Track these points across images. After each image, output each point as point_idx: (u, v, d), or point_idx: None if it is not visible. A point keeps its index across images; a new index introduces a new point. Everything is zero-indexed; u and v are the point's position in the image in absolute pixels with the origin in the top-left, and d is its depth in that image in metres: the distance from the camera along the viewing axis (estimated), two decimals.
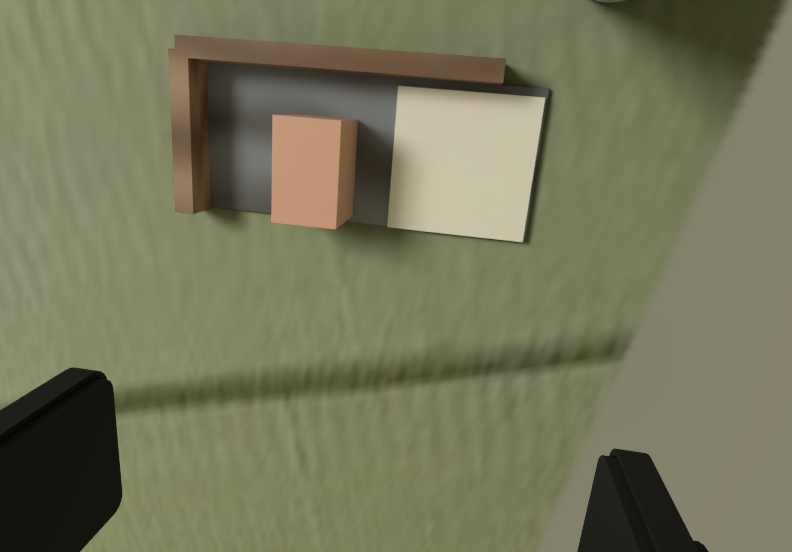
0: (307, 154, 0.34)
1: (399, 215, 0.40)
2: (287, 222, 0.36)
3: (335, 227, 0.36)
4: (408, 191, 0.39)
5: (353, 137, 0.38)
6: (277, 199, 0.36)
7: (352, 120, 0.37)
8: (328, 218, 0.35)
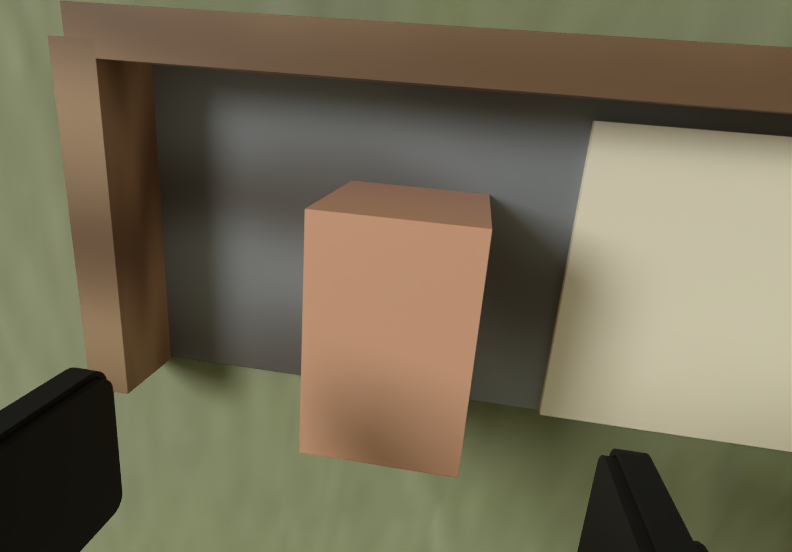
0: (393, 308, 0.13)
1: (569, 394, 0.18)
2: (338, 455, 0.15)
3: (456, 473, 0.15)
4: (595, 348, 0.18)
5: None
6: (315, 406, 0.15)
7: (489, 205, 0.15)
8: (440, 454, 0.14)
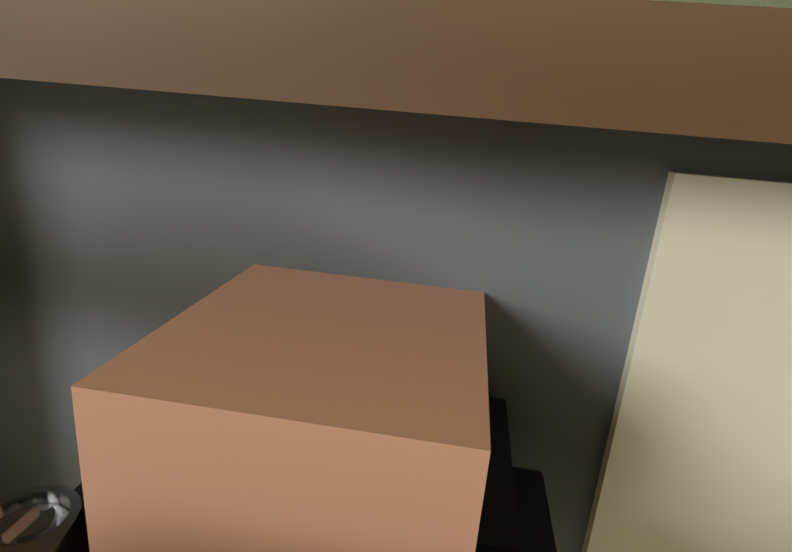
0: None
1: None
2: None
3: None
4: (661, 544, 0.11)
5: None
6: None
7: (485, 329, 0.08)
8: None
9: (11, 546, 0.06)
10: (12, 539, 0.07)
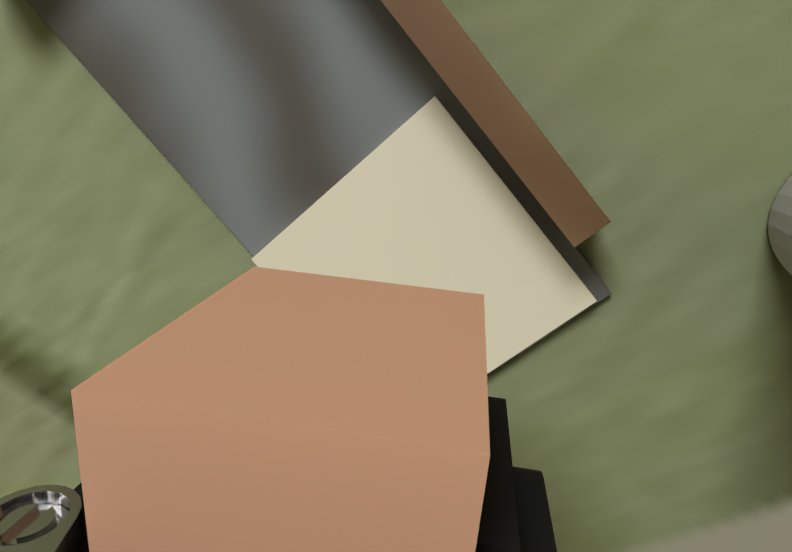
0: None
1: (280, 260, 0.22)
2: None
3: None
4: (319, 243, 0.22)
5: None
6: None
7: (484, 332, 0.08)
8: None
9: (11, 546, 0.06)
10: (12, 539, 0.07)
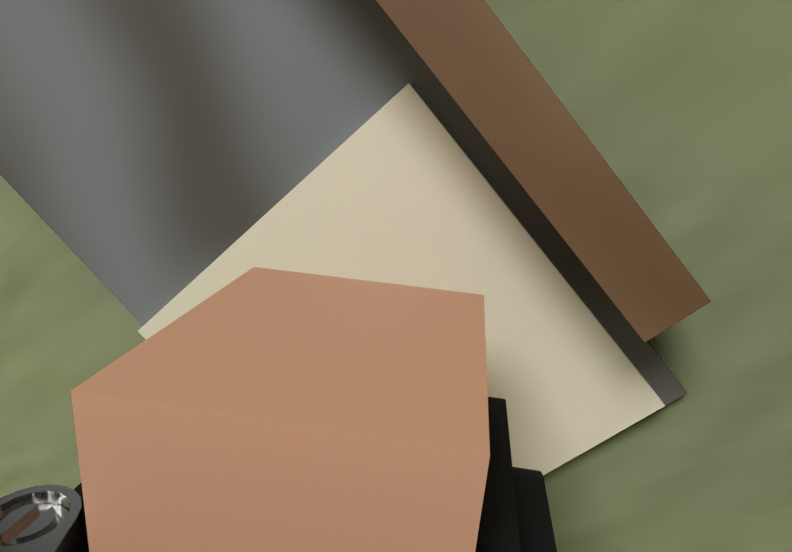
0: None
1: None
2: None
3: None
4: None
5: None
6: None
7: None
8: None
9: (11, 546, 0.06)
10: (12, 539, 0.07)
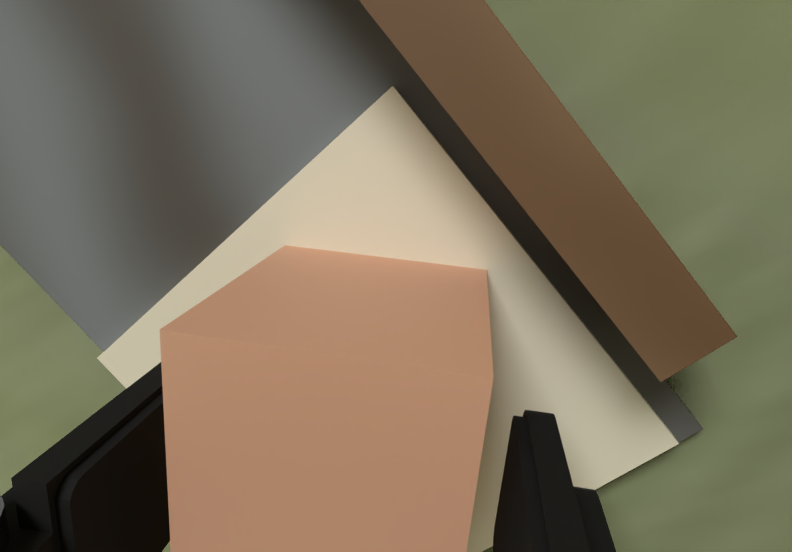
0: (320, 497, 0.08)
1: (144, 362, 0.13)
2: None
3: None
4: None
5: None
6: None
7: None
8: None
9: None
10: None
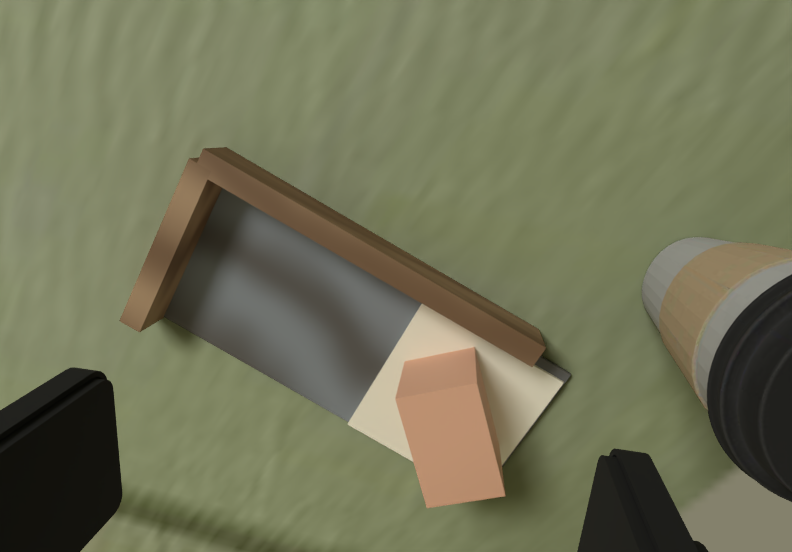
0: (447, 428, 0.29)
1: (365, 419, 0.35)
2: (446, 503, 0.30)
3: (504, 493, 0.30)
4: (385, 402, 0.35)
5: (479, 372, 0.32)
6: (427, 483, 0.30)
7: (475, 359, 0.31)
8: (492, 487, 0.30)
9: None
10: None
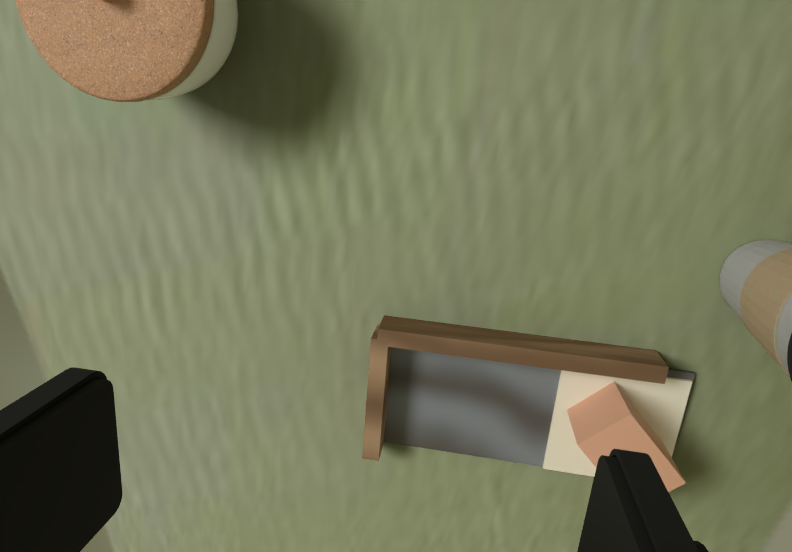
0: None
1: (555, 460, 0.46)
2: None
3: (684, 481, 0.39)
4: (564, 443, 0.45)
5: (626, 399, 0.42)
6: None
7: (619, 392, 0.41)
8: (673, 480, 0.39)
9: None
10: None
